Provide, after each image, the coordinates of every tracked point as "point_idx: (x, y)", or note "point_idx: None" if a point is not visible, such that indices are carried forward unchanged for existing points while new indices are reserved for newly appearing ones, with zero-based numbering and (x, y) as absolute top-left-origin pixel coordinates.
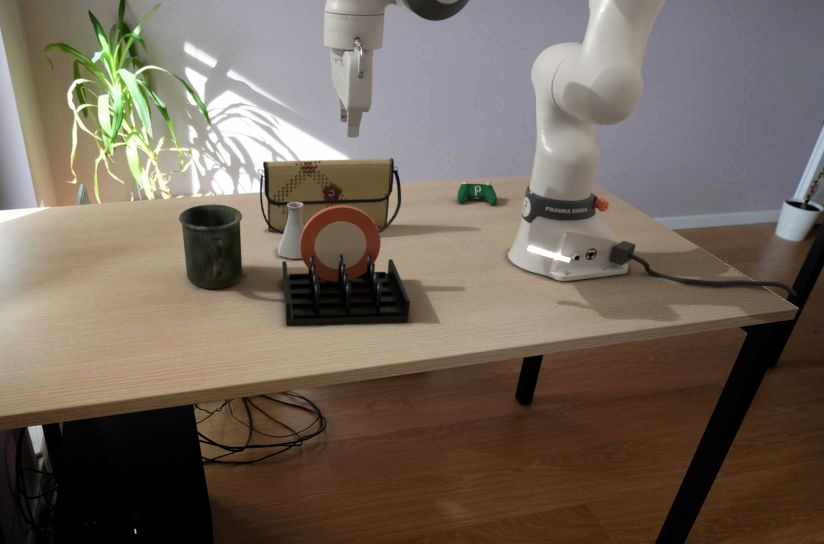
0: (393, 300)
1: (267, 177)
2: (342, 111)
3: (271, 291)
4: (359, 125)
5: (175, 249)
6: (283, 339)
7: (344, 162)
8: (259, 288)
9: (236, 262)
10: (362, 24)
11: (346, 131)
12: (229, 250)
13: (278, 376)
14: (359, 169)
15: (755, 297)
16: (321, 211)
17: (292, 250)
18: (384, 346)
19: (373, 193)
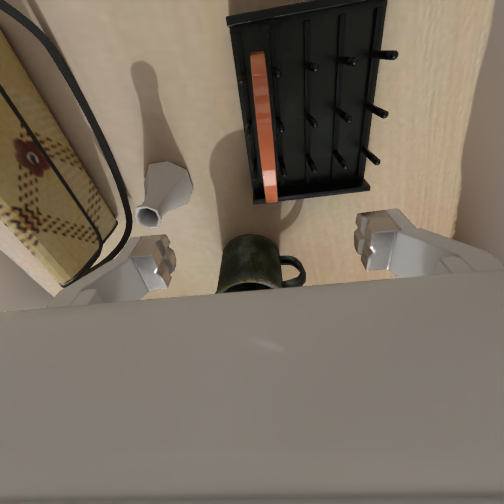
0: (343, 20)
1: (84, 268)
2: (164, 282)
3: (279, 201)
4: (421, 229)
5: (194, 292)
6: (388, 179)
7: None
8: (272, 214)
9: (265, 250)
10: None
11: (360, 251)
12: (274, 266)
13: (457, 178)
14: None
15: None
16: (271, 190)
17: (187, 191)
18: (441, 43)
19: None
